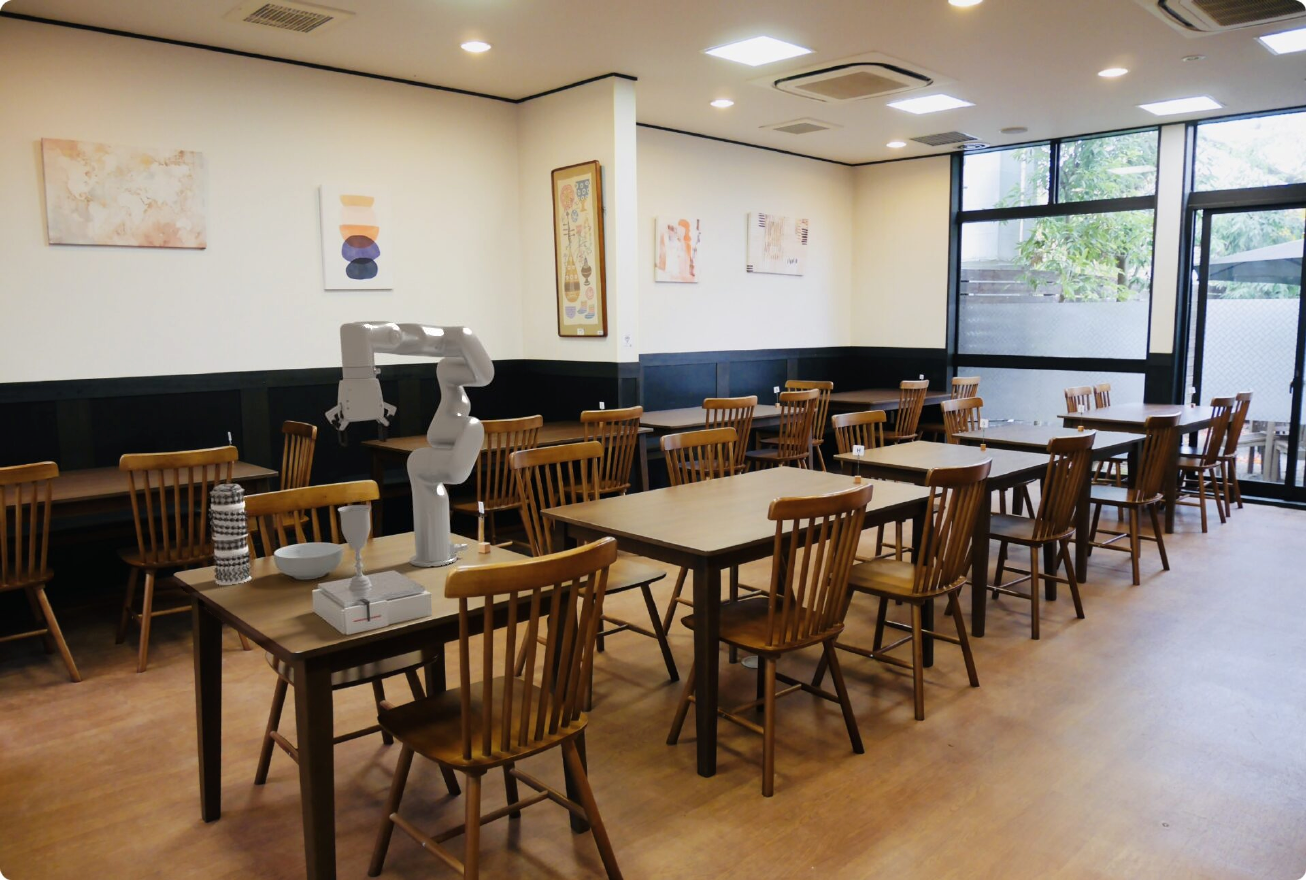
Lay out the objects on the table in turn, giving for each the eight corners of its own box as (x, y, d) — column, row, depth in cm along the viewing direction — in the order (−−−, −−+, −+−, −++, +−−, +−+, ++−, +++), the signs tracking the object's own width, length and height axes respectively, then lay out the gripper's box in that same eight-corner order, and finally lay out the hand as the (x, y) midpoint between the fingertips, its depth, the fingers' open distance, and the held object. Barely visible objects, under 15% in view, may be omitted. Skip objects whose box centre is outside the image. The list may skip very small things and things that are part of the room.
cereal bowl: (298, 588, 231) (296, 560, 230) (262, 578, 241) (260, 551, 240) (357, 573, 244) (355, 547, 244) (320, 564, 254) (318, 538, 254)
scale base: (397, 594, 224) (396, 572, 223) (433, 616, 207) (432, 591, 207) (313, 611, 212) (312, 587, 211) (345, 635, 195) (343, 609, 195)
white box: (395, 594, 222) (393, 570, 222) (431, 615, 206) (429, 589, 205) (319, 609, 212) (317, 583, 211) (350, 632, 195) (349, 605, 194)
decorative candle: (207, 581, 239) (200, 485, 235) (243, 573, 245) (236, 480, 242) (223, 587, 232) (215, 489, 229) (259, 579, 239) (252, 484, 236)
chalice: (383, 583, 210) (377, 505, 208) (364, 592, 204) (358, 512, 201) (356, 581, 213) (350, 504, 210) (337, 589, 206) (330, 510, 204)
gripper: (387, 371, 233) (391, 438, 235) (318, 375, 222) (323, 446, 225) (399, 372, 227) (403, 441, 229) (328, 377, 216) (334, 449, 219)
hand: (363, 443), depth 227 cm, fingers open, 9 cm apart
